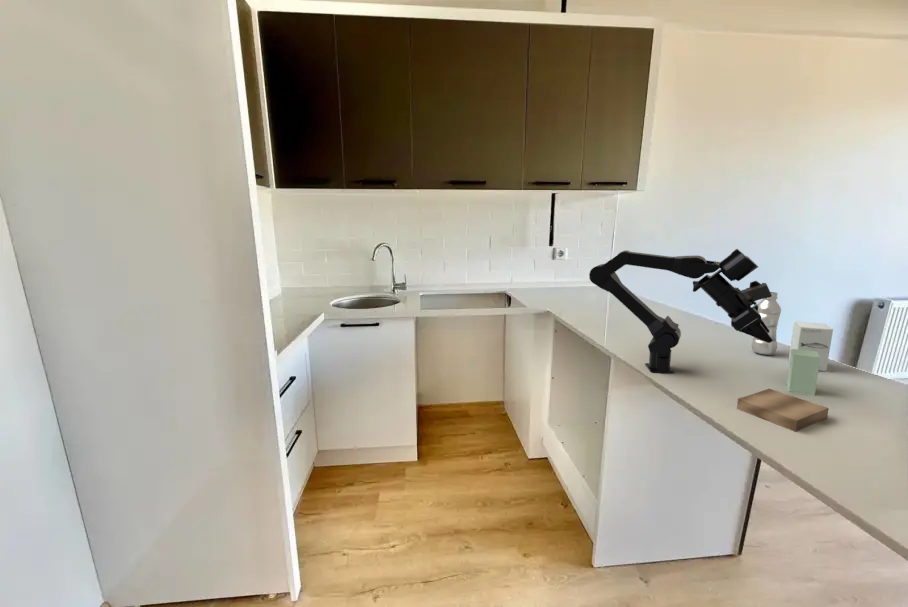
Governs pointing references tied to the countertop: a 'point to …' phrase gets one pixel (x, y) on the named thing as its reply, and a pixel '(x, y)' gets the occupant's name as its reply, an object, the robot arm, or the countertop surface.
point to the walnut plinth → (783, 409)
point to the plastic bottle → (768, 324)
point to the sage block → (803, 371)
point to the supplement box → (812, 340)
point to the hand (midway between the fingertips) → (769, 337)
